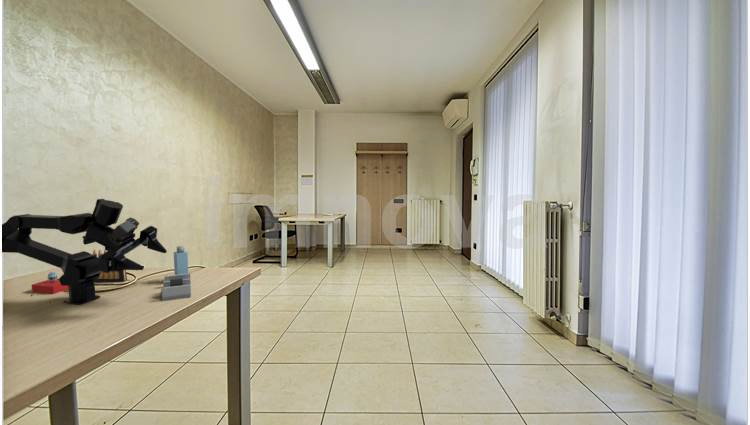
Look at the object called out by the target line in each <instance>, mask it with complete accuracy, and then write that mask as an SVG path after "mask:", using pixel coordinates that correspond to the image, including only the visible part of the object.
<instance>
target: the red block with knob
mask: <svg viewBox="0 0 750 425" xmlns="http://www.w3.org/2000/svg"><path fill="white" fill-rule="evenodd" d="M66 290H67V291H68V286H65V285H61V283H60V281H59V278H58V273H56V272H54V271H50V272H49V273H48V274H47V279H45V280H42V281H40V282H36V283H33V284H31V292H32V293H37V294H38V293H40V294H49V295H50V294H51V295H54V294H55V295H56V294H58V293H61V292H63V291H66Z"/></svg>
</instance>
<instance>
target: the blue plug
mask: <svg viewBox="0 0 750 425" xmlns="http://www.w3.org/2000/svg"><path fill="white" fill-rule="evenodd" d="M173 266H174V268H173V269H174V275H180V274H189V254H188V251H186V250H185V246H184V245H181V246H180V245H179V246H176V251H174V252H173Z"/></svg>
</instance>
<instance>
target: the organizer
mask: <svg viewBox="0 0 750 425" xmlns="http://www.w3.org/2000/svg"><path fill="white" fill-rule="evenodd" d="M163 277H164V279H163V280H164V281H163V282H162V284H163V287H162V288H161V295H162V297H161V298H162V302H164V301H171V300H179V299H180V300H181V299H186V298H191V296H192V294H191V293H192V292H191V289H192V286H191V273H189V272H188V274H180V275H175V274H171V275H165V276H163Z"/></svg>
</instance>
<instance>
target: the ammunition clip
mask: <svg viewBox="0 0 750 425" xmlns="http://www.w3.org/2000/svg"><path fill="white" fill-rule="evenodd" d="M105 252H107V251H106V250H105V249H104V251H103V253H105ZM103 253H102V250H101V249H99V250H98V254H97V250H96V249H93V251H92V254H93V255H97V256H96V257H98V258H99V256H100V255H102V254H103ZM93 280H94V283H124V282H126V281H127V280H128V276H127V270H117V271H114V272H112V271H110V272H109V273H105V272H103V271H101V273H100V276H99V277H98V278H95V279H93Z"/></svg>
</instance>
